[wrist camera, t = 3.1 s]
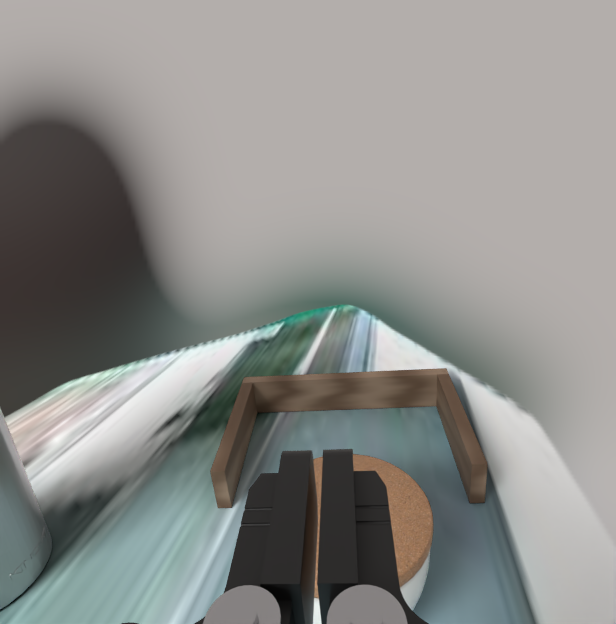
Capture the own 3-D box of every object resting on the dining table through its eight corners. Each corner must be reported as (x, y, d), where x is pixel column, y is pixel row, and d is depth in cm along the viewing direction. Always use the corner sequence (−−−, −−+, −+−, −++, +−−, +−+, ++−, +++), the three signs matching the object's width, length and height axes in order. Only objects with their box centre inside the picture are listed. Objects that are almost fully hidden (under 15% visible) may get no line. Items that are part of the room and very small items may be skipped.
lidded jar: (370, 728, 25) (363, 609, 21) (239, 608, 32) (218, 502, 28) (459, 583, 32) (465, 475, 28) (337, 510, 39) (330, 416, 35)
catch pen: (217, 508, 40) (210, 471, 39) (248, 407, 54) (244, 377, 53) (484, 502, 38) (487, 464, 37) (445, 399, 52) (446, 368, 51)
